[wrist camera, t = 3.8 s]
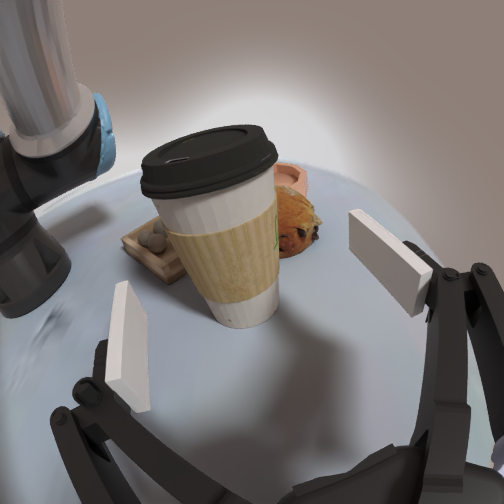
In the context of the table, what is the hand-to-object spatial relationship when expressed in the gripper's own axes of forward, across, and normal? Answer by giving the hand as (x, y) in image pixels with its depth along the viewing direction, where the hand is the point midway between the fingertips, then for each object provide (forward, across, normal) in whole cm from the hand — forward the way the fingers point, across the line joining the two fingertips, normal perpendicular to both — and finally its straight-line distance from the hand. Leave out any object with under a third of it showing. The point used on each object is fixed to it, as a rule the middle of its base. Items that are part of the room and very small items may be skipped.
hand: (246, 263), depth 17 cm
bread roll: (+16, +6, -10) cm, 20 cm away
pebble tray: (+20, -7, -9) cm, 24 cm away
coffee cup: (+7, 0, -10) cm, 12 cm away
